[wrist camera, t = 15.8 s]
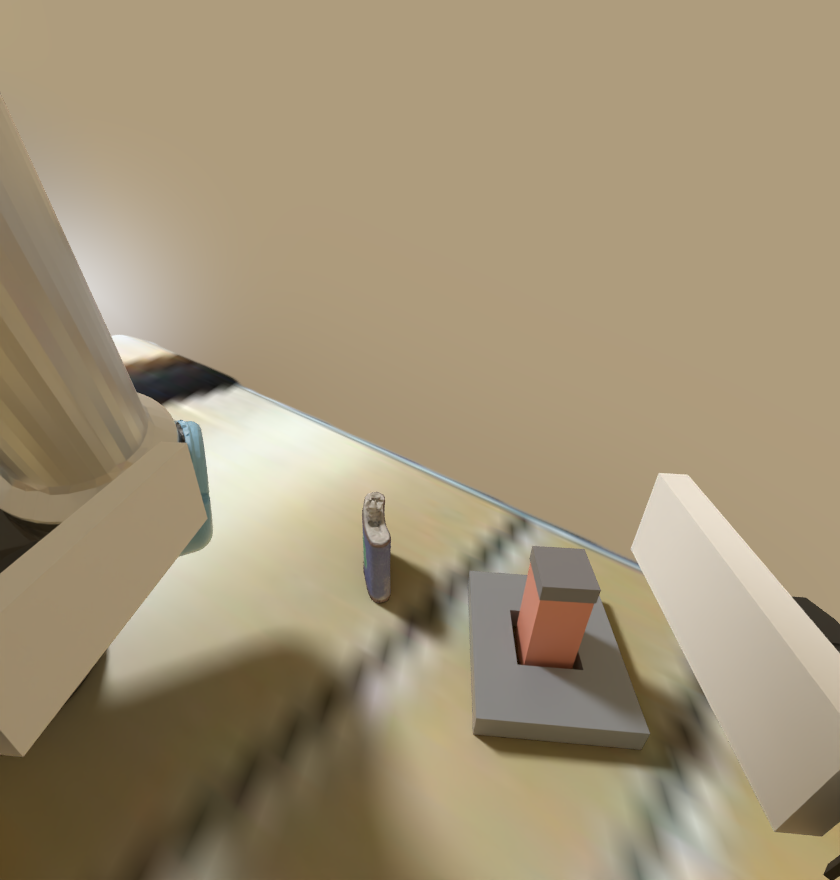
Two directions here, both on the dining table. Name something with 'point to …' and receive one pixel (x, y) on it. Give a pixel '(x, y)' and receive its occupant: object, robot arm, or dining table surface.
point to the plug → (555, 607)
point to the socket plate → (547, 677)
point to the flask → (376, 548)
